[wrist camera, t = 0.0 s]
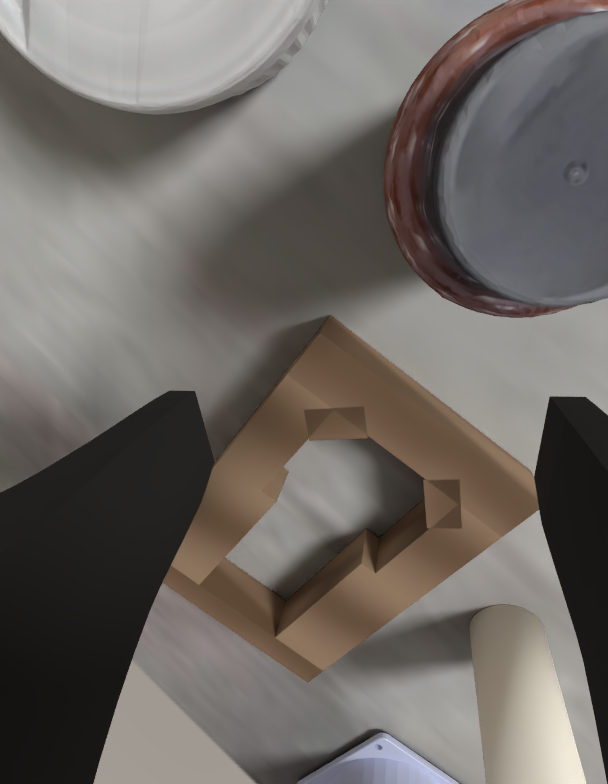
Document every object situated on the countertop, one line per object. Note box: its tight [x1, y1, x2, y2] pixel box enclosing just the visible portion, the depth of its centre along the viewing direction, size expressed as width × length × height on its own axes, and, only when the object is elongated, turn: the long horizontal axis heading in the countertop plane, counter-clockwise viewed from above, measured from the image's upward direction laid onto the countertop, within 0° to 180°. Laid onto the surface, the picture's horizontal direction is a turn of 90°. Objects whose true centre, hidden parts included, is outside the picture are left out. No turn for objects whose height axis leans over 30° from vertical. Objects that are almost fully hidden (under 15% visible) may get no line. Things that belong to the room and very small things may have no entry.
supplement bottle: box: [384, 0, 608, 318], centre depth 12 cm, size 6×6×11 cm
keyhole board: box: [162, 315, 539, 683], centre depth 23 cm, size 16×11×2 cm
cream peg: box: [469, 605, 586, 784], centre depth 22 cm, size 4×4×8 cm
